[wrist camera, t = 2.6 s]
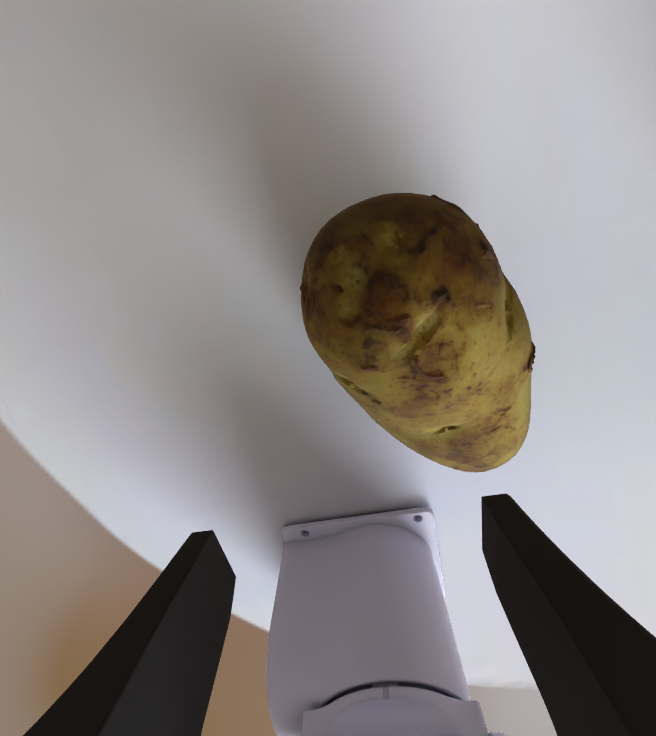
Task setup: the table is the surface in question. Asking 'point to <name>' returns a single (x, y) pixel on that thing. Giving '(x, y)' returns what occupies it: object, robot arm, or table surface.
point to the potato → (422, 328)
